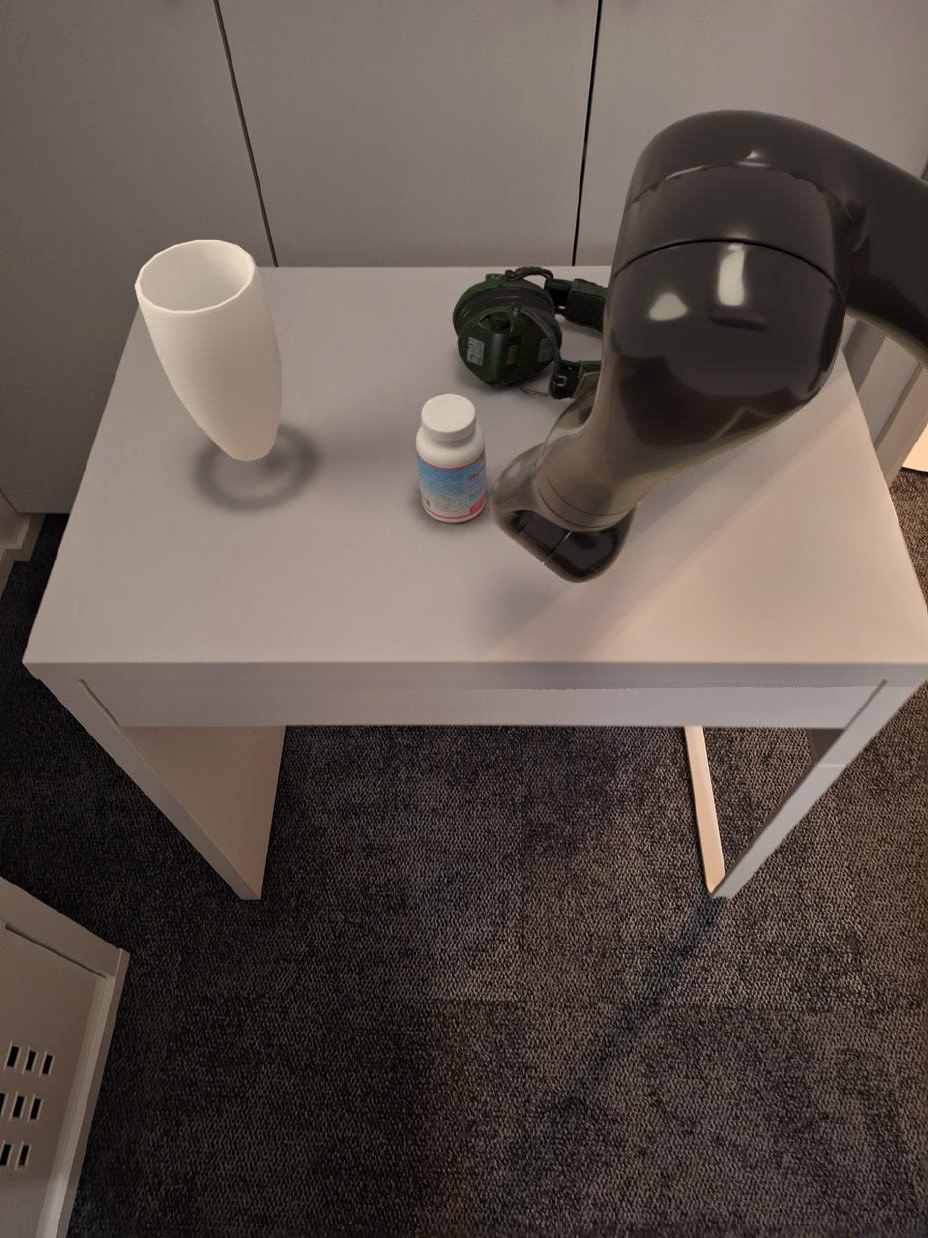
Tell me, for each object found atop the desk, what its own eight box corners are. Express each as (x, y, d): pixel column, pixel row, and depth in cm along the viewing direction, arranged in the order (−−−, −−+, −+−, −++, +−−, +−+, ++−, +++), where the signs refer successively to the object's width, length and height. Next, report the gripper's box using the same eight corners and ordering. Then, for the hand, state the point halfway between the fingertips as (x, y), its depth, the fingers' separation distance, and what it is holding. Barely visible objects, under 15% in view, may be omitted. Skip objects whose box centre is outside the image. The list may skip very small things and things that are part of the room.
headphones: (471, 398, 86) (672, 397, 89) (469, 247, 83) (675, 252, 87) (447, 405, 99) (623, 404, 102) (444, 275, 96) (625, 278, 100)
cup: (327, 476, 89) (283, 286, 71) (228, 521, 86) (156, 335, 68) (283, 412, 94) (231, 220, 76) (187, 453, 91) (110, 263, 73)
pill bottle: (486, 525, 85) (484, 437, 75) (420, 525, 85) (410, 438, 75) (486, 476, 88) (484, 386, 79) (423, 477, 88) (414, 387, 79)
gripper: (757, 381, 69) (841, 266, 76) (592, 316, 74) (686, 214, 81) (736, 451, 75) (816, 339, 82) (586, 387, 80) (673, 287, 87)
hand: (751, 278), depth 81 cm, fingers open, 8 cm apart
